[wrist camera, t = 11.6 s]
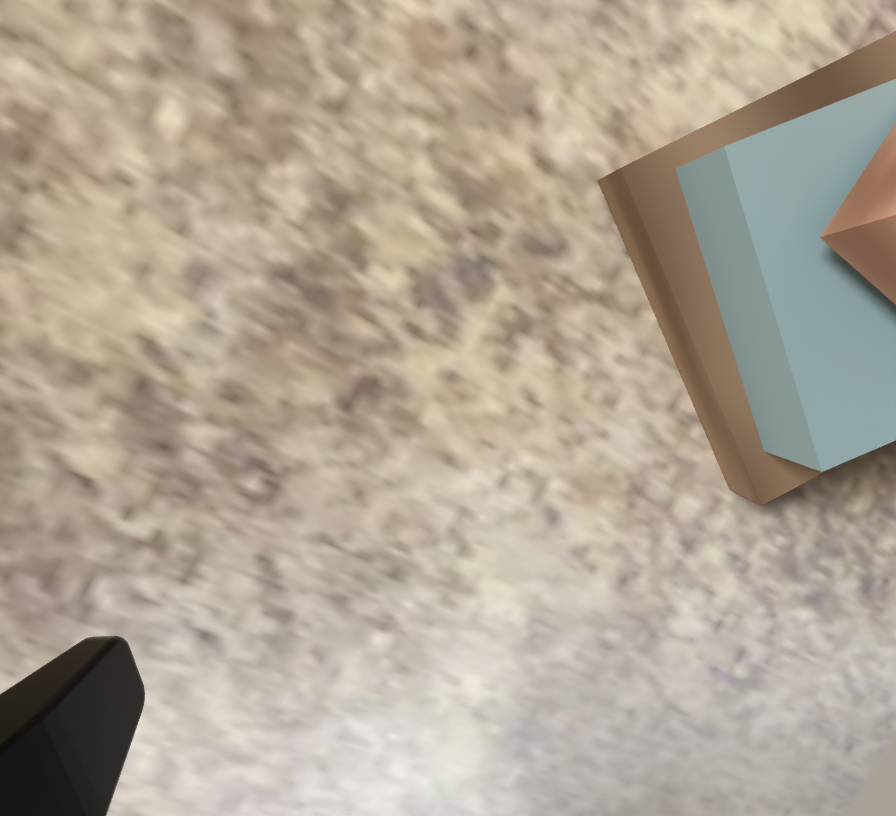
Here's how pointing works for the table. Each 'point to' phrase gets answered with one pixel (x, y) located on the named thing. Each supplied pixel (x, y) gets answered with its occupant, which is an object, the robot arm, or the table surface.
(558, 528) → the table surface
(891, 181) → the terracotta block
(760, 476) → the tower base slab
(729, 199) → the tower top block
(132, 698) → the robot arm
